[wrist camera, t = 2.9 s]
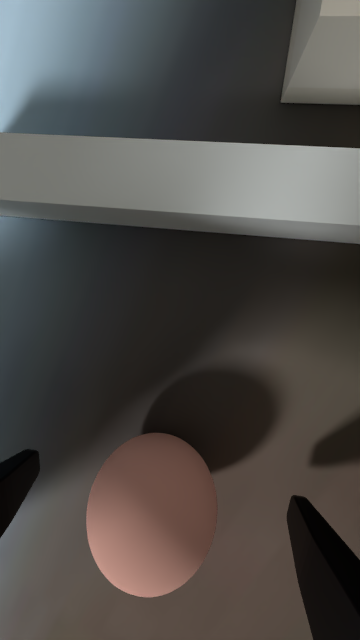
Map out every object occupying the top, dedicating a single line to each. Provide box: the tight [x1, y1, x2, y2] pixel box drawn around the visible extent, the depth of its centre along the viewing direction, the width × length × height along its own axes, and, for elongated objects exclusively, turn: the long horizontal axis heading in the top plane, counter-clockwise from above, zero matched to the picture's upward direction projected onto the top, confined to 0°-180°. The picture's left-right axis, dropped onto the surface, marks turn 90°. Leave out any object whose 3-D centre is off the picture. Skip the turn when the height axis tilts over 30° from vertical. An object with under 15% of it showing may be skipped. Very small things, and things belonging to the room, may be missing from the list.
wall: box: [0, 132, 360, 244], centre depth 6 cm, size 20×1×3 cm, turn 85°
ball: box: [86, 433, 217, 597], centre depth 8 cm, size 4×4×4 cm
